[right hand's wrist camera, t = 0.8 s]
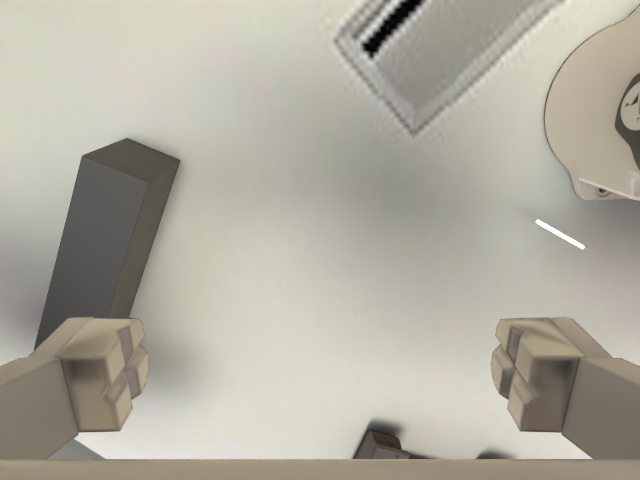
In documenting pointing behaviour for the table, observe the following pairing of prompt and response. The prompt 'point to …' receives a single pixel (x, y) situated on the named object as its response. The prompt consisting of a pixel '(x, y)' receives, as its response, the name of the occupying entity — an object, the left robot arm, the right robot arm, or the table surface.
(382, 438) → the toy
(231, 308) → the table surface
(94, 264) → the block
